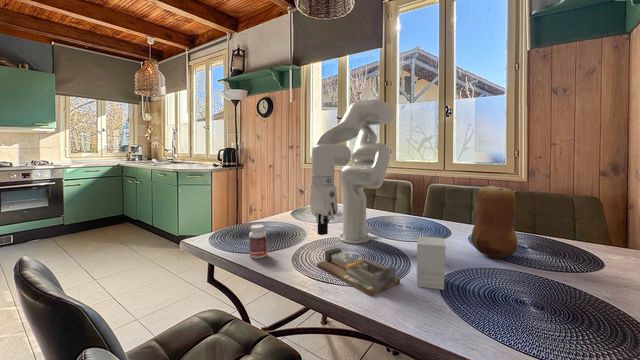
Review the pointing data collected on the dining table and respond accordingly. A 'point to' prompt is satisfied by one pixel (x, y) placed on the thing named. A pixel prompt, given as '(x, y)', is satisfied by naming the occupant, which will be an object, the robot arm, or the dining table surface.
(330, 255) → the grey and white block
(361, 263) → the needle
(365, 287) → the wooden board
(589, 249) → the dining table surface
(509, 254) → the butternut squash
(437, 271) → the supplement box
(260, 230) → the pill bottle
